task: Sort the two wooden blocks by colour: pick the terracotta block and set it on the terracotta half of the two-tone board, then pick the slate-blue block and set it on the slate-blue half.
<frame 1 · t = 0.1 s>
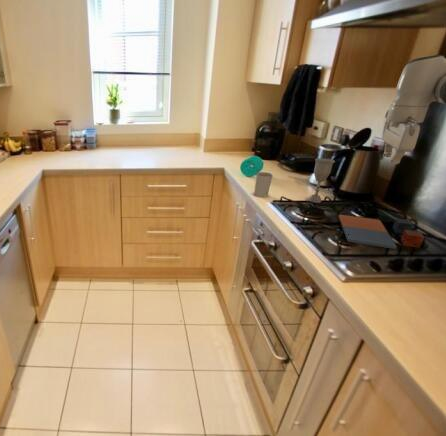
hand: (390, 159, 102), 26 cm above the worktop, tool pointing down, fingers open, 8 cm apart
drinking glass: (260, 195, 147), on the worktop
chalice: (314, 200, 139), on the worktop
terracotta block: (409, 244, 103), on the worktop
slate block: (400, 231, 111), on the worktop
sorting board: (364, 231, 112), on the worktop
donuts: (250, 175, 176), on the worktop
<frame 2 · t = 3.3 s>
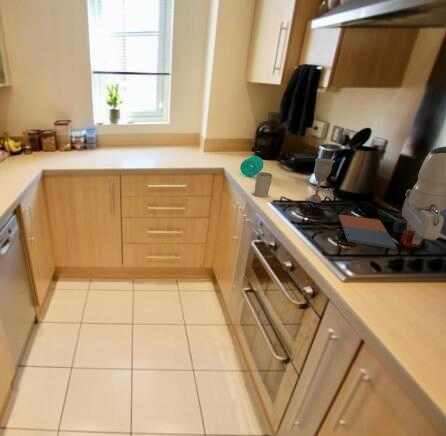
hand: (411, 239, 103), 2 cm above the worktop, tool pointing down, fingers closed on terracotta block, 4 cm apart
terracotta block: (409, 244, 103), on the worktop, touching gripper
everything else where it was.
when the fingers open (2 cm above the worktop, at t = 9.3 s): terracotta block stays where it is, resting on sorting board.
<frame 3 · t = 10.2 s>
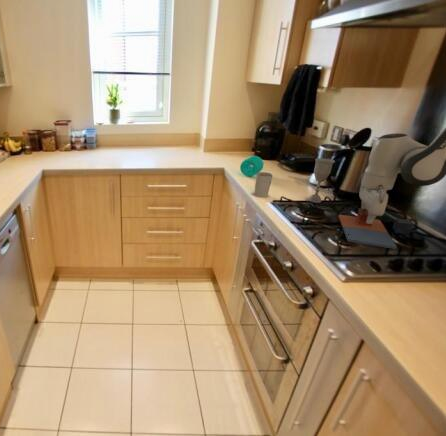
hand: (365, 217, 115), 3 cm above the worktop, tool pointing down, fingers open, 8 cm apart
terracotta block: (363, 222, 116), point 1 cm above the worktop, touching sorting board
everything else where it was.
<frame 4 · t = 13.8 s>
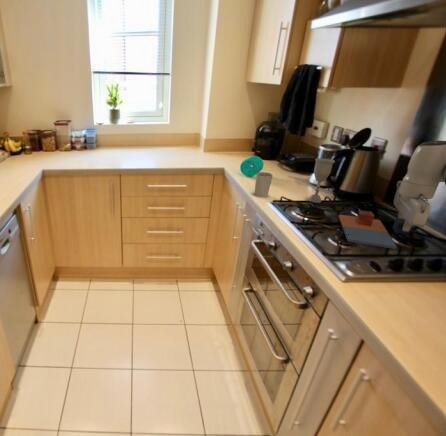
hand: (402, 227, 111), 2 cm above the worktop, tool pointing down, fingers closed on slate block, 4 cm apart
slate block: (400, 231, 111), on the worktop, touching gripper
everything else where it was.
when the fingers open (2 cm above the worktop, at t = 19.6 s): slate block stays where it is, resting on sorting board.
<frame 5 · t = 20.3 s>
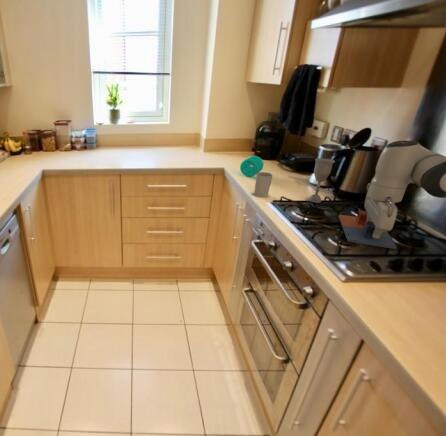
hand: (371, 231, 106), 3 cm above the worktop, tool pointing down, fingers open, 8 cm apart
slate block: (369, 235, 107), point 1 cm above the worktop, touching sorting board
everything else where it was.
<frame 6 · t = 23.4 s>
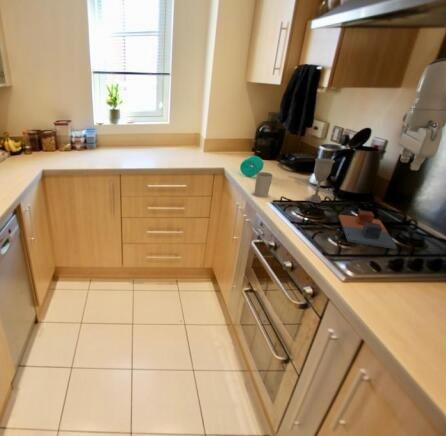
hand: (408, 165, 97), 25 cm above the worktop, tool pointing down, fingers open, 8 cm apart
nothing on the worktop moved.
at the end: terracotta block inside the target area (0.7 cm from its centre), point 1.0 cm above the worktop; slate block inside the target area (0.7 cm from its centre), point 1.0 cm above the worktop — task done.
